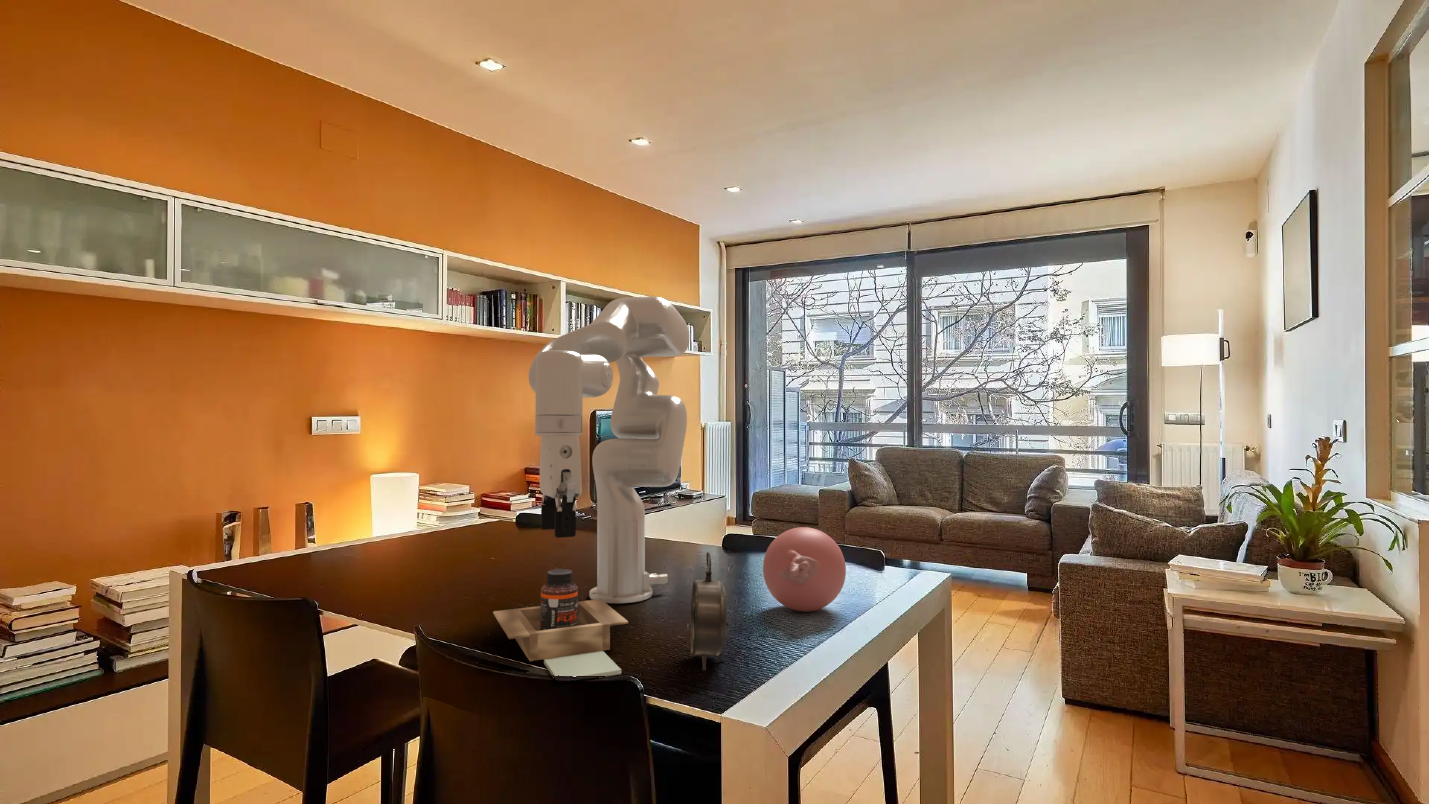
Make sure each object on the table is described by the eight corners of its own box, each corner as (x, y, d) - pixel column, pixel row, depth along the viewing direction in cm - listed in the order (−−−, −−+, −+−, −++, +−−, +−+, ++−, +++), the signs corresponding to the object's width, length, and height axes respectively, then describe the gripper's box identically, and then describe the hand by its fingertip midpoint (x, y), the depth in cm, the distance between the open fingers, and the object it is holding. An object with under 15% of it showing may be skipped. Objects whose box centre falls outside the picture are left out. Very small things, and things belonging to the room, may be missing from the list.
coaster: (602, 654, 112) (602, 650, 112) (621, 673, 104) (621, 669, 104) (543, 663, 108) (543, 659, 108) (558, 684, 100) (558, 679, 100)
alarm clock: (689, 649, 115) (689, 545, 115) (723, 648, 115) (723, 545, 115) (693, 674, 104) (692, 559, 104) (731, 673, 104) (730, 559, 104)
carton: (600, 621, 130) (600, 599, 130) (628, 646, 116) (628, 621, 116) (493, 635, 122) (493, 611, 122) (509, 664, 108) (509, 637, 108)
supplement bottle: (559, 649, 115) (559, 577, 115) (532, 643, 118) (532, 572, 118) (585, 639, 120) (585, 570, 120) (558, 633, 123) (558, 565, 123)
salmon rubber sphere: (745, 624, 128) (745, 536, 128) (774, 596, 147) (774, 519, 147) (833, 633, 123) (832, 541, 123) (852, 603, 142) (851, 523, 142)
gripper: (596, 427, 113) (595, 538, 112) (568, 426, 129) (567, 524, 128) (547, 427, 110) (546, 542, 109) (525, 426, 125) (523, 527, 125)
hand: (557, 532), depth 119 cm, fingers open, 9 cm apart
